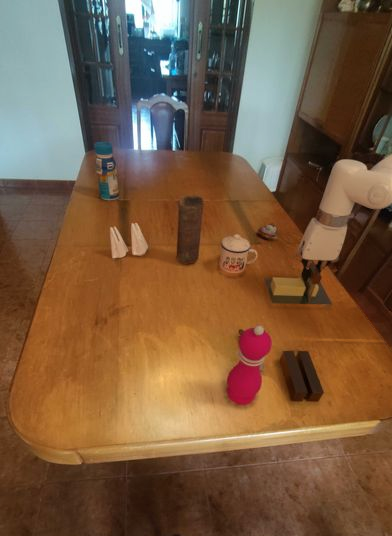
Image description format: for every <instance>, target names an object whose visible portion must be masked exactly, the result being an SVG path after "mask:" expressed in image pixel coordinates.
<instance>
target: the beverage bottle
mask: <svg viewBox="0 0 392 536" xmlns="http://www.w3.org/2000/svg"><path fill="white" fill-rule="evenodd" d="M93 147H94V153H95V155H96V157H95V160H94V165H95V174H96V177H97V182H98V183H97V185H98V191H99V197H100V198H101V199H102V200H104V201H115V200H117V199H119V198H120V191H119V183H118V169H117V167H116V165H117V163H116V160H115V158H114V156H113V153H114V152H113V145H112V143H110V142H107V141H97V142H94V144H93Z"/></svg>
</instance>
